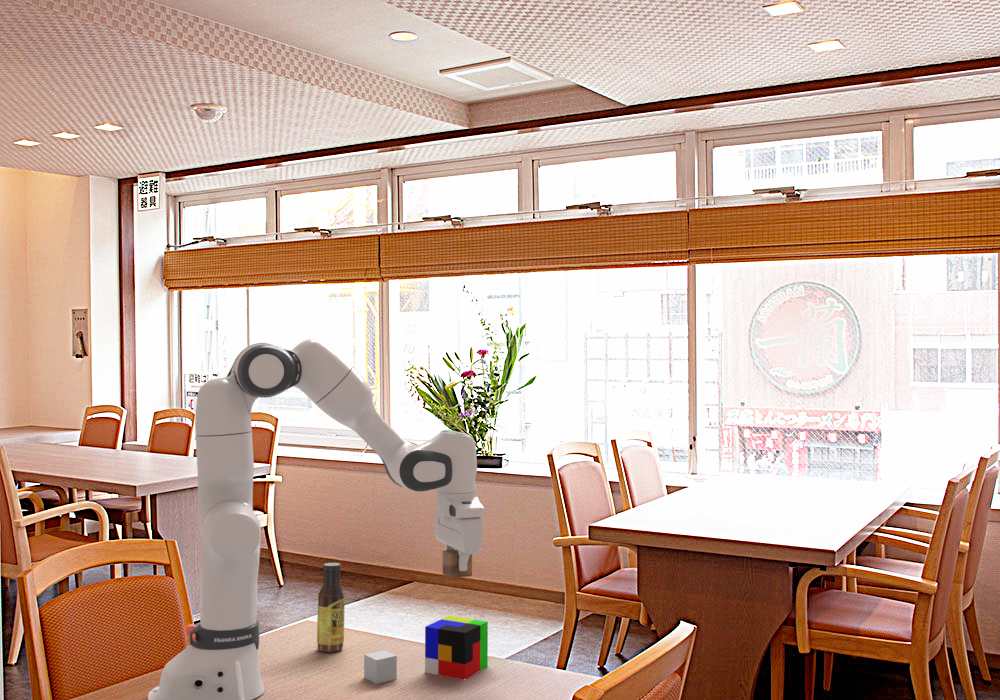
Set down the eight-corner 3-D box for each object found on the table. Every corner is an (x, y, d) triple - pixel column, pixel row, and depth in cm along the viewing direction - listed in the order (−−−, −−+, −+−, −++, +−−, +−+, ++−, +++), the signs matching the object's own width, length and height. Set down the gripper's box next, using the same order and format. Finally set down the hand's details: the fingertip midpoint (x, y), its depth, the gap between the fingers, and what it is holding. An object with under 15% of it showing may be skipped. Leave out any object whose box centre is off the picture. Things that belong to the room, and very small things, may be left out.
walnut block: (450, 578, 205) (450, 555, 205) (442, 573, 209) (442, 550, 209) (472, 576, 207) (472, 553, 207) (463, 571, 211) (463, 548, 211)
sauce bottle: (335, 654, 218) (335, 568, 218) (311, 651, 220) (312, 566, 220) (349, 646, 224) (349, 562, 224) (326, 644, 226) (326, 560, 226)
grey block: (376, 684, 198) (376, 660, 198) (364, 677, 202) (364, 654, 202) (396, 679, 202) (396, 655, 202) (384, 673, 205) (384, 650, 205)
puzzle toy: (425, 672, 206) (425, 626, 206) (448, 660, 215) (448, 615, 215) (465, 680, 201) (465, 632, 201) (487, 666, 210) (487, 621, 210)
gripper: (427, 498, 216) (427, 559, 216) (460, 511, 198) (460, 578, 198) (453, 497, 219) (453, 557, 219) (487, 510, 200) (487, 575, 200)
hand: (456, 567), depth 208 cm, fingers closed on walnut block, 5 cm apart
